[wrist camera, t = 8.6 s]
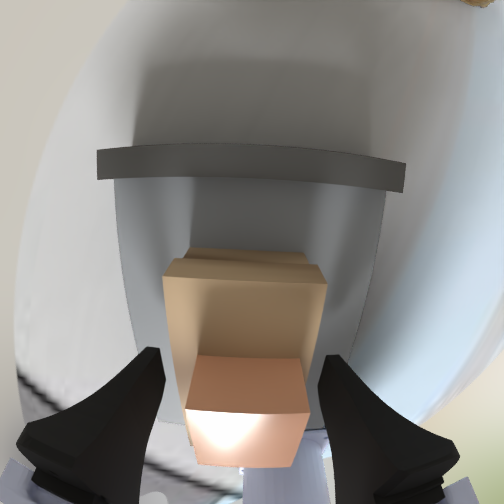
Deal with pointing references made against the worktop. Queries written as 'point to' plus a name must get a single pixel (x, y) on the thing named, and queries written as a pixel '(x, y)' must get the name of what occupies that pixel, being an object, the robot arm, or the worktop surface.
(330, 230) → the dock
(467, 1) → the brown rounded lump
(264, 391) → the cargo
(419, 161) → the worktop surface
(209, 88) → the worktop surface
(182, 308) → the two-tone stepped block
